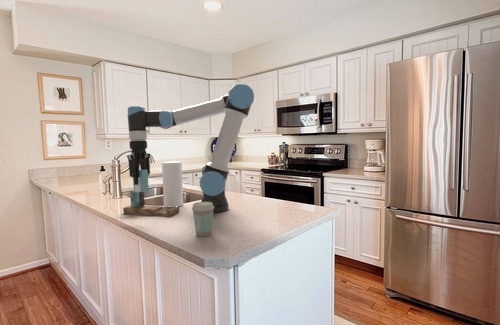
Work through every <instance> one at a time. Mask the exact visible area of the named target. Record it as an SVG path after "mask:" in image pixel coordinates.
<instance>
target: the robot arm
mask: <svg viewBox="0 0 500 325" xmlns="http://www.w3.org/2000/svg"><path fill="white" fill-rule="evenodd" d="M254 93H255V92H254V90H253V89H252V88H251V86H250V85H248V84H246V83H242V82H241V83H237V84H233V86H232V87H230V89H229V90H228V93H227V94H225V95H221V96H220V98H218V99H213V100H210V101H206V102H203V103H198V104H195V105H191V106H186V107H182V108H179V109H175V110H172V111H171V110H165V109H162V110H146V108H145V107H144V106H141V105H138V106H137V105H132V106H131V105H130V106H129V107H127V123H128V124H127V126H128V139H129V140H130V141H129V149H130V150H131V153H130V154H127V155H126V158H127V160H128V170H129V177H130V178H132V179H133V178H134V185H135V192H141V183H140V177H139V170H147V171H148V177H149V176H150V174H151V164H150V162H151V161H150V160H151V159H150V158H151V154H150V153H147V150H146V149H148V141H147V139H148V138H147V136H148V135H147V128H161V129H164V130H169V129H170V128H172V127H176V126H180V125H184V124H188V123H191V122H195V121H199V120H202V119H207V118H210V117H215V116H219V115H222V114H225V115H224V119H223V121H222V124H221V126H220V130H219V134H218V135H217V136H218V137H217V141H216V143H215V145H214V148H213V152H212V154H211V157H210V161H208V162H207V163H205V165H204V166H202V169H201V175H202V176H200V179H199V187H200V189H201V191H202V198H201V201H200V202H212V203H213V206H214V209H213V214H214V213H215V214H216V213H221V212H227V211H228V210H229V208H230V206H229V202H228V199H227V197H226V196H227V195H226V182H227V179H228V176H229V174H230V170H229V167H228V166H229V163H230V160H231V158H232V154H233V151H234V148H235V145H236V142H237V139H238V136H239V133H240V130H241V126H242V124H243V120H244V119H247V118H248V116H249V113H250V109H251V107H252V105H253V103H254V100H255V94H254ZM134 185H133V186H134Z"/></svg>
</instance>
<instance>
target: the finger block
mask: <svg viewBox="0 0 500 325" xmlns="http://www.w3.org/2000/svg"><path fill="white" fill-rule="evenodd" d="M139 177H140V183H141V192H144V193H146V192H148V191H150V187H149V176H148V171H147V170H141V169H139ZM132 181H133V182H132V183H133V190H134V192H135V185H134V178H132Z"/></svg>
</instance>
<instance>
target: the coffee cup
mask: <svg viewBox="0 0 500 325" xmlns="http://www.w3.org/2000/svg"><path fill="white" fill-rule="evenodd" d="M213 209H214V206H213V203H212V202H201V201H199V202H193V204H192V206H191V211H192V216H193V222H194V228H195V234H196V236H197V237H202V238H203V237H210V236H211V235H212V232H213V219H214V213H213Z"/></svg>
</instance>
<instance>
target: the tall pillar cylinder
mask: <svg viewBox="0 0 500 325" xmlns="http://www.w3.org/2000/svg"><path fill="white" fill-rule="evenodd" d="M182 163H183V162H182V161H174V160H173V161H162V162H161V169H162V170H161V171H162V187H163V188H162V192H163V193H162V194H163V196H162V197H163V208H167V207H169V206H170V207H176V206H180V207H182V206H181V205H183V206H184V191H183V188H184V186H183V164H182Z"/></svg>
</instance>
